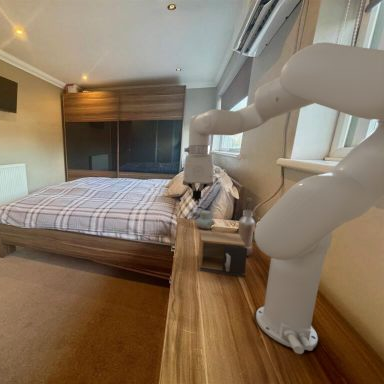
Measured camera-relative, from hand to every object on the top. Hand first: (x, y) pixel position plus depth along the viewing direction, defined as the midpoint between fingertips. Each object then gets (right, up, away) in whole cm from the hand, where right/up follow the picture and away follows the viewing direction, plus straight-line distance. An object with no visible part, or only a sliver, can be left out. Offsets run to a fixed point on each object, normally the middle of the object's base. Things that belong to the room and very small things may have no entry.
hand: (196, 200), depth 76 cm
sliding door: (+13, -27, -2) cm, 30 cm away
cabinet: (+11, -26, +6) cm, 29 cm away
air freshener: (+21, -18, +46) cm, 54 cm away
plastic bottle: (+26, -25, +14) cm, 39 cm away
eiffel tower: (+38, -21, +33) cm, 54 cm away
